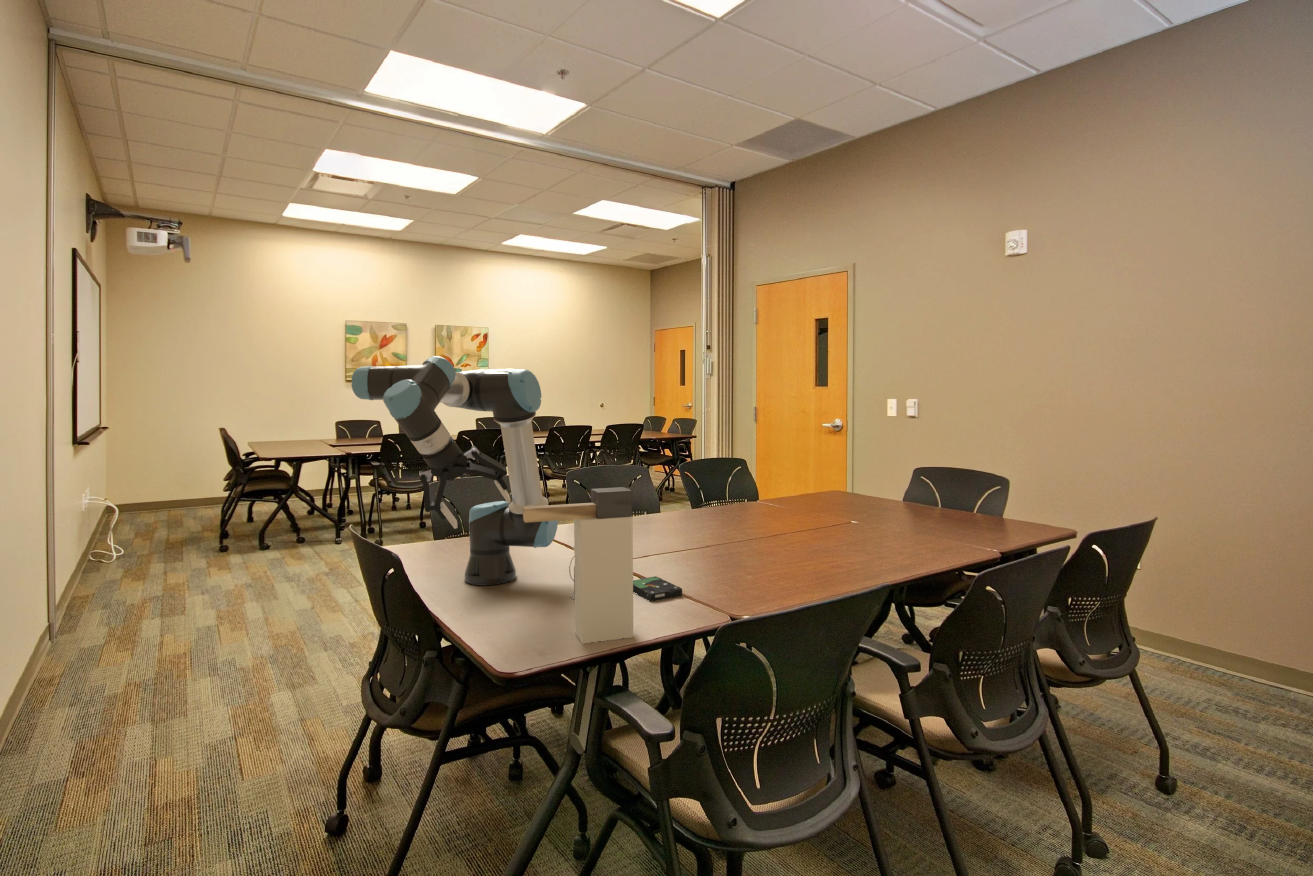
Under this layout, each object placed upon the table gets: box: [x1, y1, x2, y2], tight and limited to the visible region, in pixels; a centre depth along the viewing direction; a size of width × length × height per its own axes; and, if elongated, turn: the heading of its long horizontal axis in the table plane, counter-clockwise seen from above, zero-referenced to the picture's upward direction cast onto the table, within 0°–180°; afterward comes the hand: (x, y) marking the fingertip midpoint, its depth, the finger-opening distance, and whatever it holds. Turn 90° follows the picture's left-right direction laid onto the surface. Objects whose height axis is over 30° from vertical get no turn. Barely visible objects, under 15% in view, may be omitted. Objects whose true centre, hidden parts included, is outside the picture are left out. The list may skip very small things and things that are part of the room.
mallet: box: [523, 486, 633, 523], centre depth 154 cm, size 6×24×6 cm, turn 109°
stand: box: [573, 516, 634, 645], centre depth 158 cm, size 7×12×28 cm, turn 109°
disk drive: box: [633, 575, 683, 603], centre depth 192 cm, size 10×3×15 cm
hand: (482, 512), depth 160 cm, fingers open, 13 cm apart
